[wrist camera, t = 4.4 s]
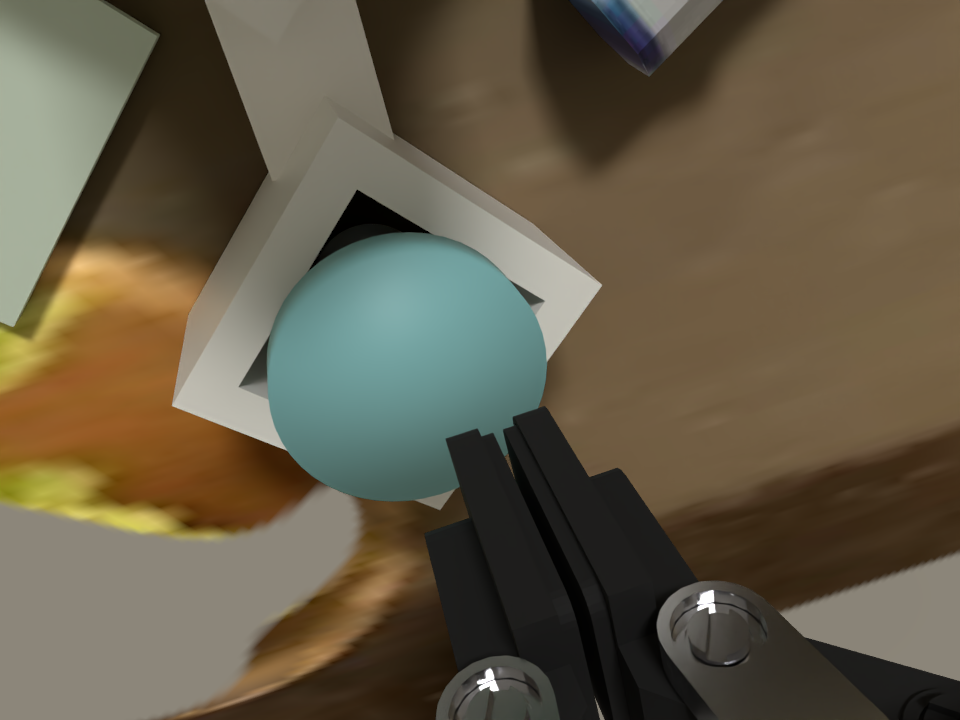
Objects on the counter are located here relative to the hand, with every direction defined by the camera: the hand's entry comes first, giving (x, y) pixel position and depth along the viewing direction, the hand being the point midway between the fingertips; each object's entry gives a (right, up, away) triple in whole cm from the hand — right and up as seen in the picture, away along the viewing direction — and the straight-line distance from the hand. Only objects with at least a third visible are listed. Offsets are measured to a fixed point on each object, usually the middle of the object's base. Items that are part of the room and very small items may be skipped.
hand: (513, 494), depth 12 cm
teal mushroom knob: (-3, +4, +8) cm, 10 cm away
